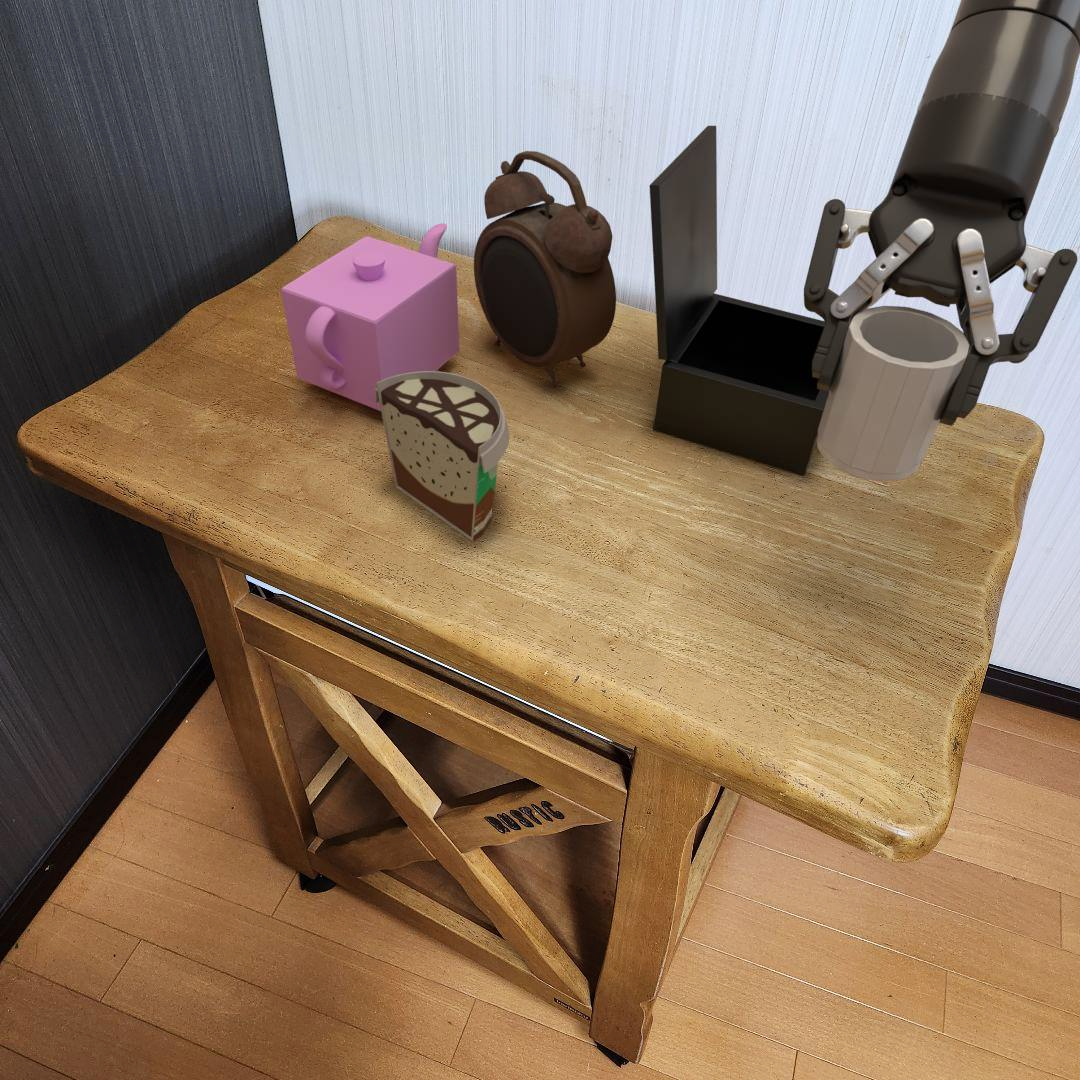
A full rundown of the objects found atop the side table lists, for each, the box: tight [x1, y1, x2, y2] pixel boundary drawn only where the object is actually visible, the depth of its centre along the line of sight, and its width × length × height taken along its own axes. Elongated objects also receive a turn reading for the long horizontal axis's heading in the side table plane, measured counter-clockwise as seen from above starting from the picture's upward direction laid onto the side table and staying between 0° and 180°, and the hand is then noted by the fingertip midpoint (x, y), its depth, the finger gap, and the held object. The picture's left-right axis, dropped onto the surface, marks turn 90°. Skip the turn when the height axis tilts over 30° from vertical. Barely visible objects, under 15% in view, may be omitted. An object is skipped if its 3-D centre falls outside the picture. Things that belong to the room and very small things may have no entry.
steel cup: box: [816, 305, 970, 482], centre depth 53 cm, size 6×6×8 cm
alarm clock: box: [473, 150, 617, 388], centre depth 83 cm, size 15×7×20 cm, turn 41°
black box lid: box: [649, 125, 718, 361], centre depth 77 cm, size 15×14×1 cm
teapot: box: [280, 222, 460, 412], centre depth 84 cm, size 20×10×13 cm, turn 150°
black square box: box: [652, 293, 830, 477], centre depth 83 cm, size 14×14×7 cm
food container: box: [375, 371, 510, 543], centre depth 72 cm, size 12×6×10 cm, turn 47°
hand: (884, 403), depth 52 cm, fingers closed on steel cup, 6 cm apart
